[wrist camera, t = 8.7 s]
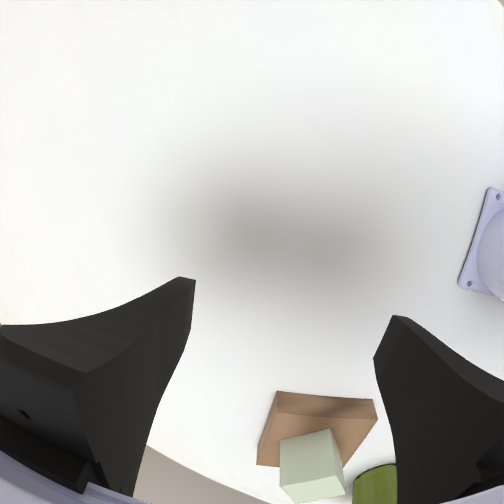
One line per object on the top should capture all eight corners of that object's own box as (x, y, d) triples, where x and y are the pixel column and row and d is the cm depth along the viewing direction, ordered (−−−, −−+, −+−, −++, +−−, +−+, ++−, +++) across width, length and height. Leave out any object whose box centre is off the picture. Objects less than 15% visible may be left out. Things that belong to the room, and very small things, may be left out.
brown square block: (371, 395, 26) (377, 419, 23) (338, 448, 29) (341, 469, 26) (276, 387, 26) (276, 412, 23) (257, 442, 29) (256, 464, 26)
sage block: (329, 428, 23) (336, 475, 19) (340, 451, 25) (346, 494, 20) (280, 440, 24) (279, 486, 20) (295, 462, 26) (296, 504, 21)
